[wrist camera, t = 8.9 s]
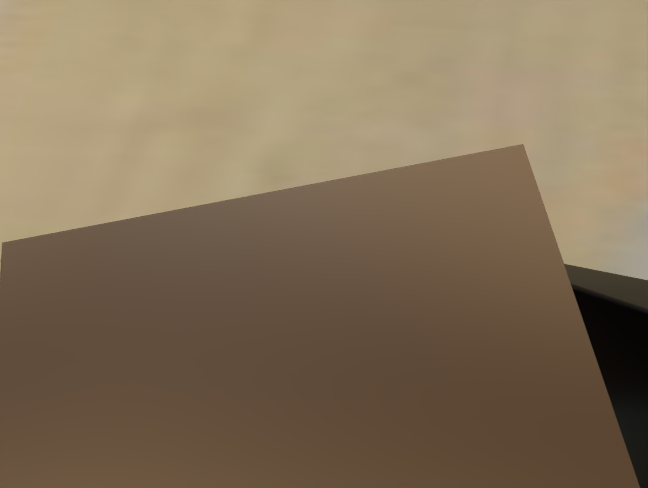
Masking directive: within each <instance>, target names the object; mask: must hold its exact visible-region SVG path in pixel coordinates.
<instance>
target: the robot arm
mask: <svg viewBox="0 0 648 488" xmlns="http://www.w3.org/2000/svg"><path fill="white" fill-rule="evenodd" d="M564 266H565V269H566V272H567V275H568V278H569V280H570V283H571V286H572V289H573V292H574V295H575V298H576V301H577V304H578V307H579V310H580V313H581V316H582V319H583V322H584V324H585V327H586V330H587V333H588V336H589V339H590V342H591V345H592V348H593V351H594V354H595V357H596V360H597V363H598V366H599V369H600V371H601V374H602V377H603V380H604V383H605V386H606V389H607V392H608V395H609V398H610V401H611V404H612V407H613V410H614V413H615V416H616V418H617V421H618V424H619V427H620V430H621V433H622V436H623V439H624V442H625V445H626V448H627V451H628V454H629V457H630V460H631V463H632V465H633V468H634V471H635V474H636V477H637V480H638V483H639V486H640V488H648V280H643V279H638V278H633V277H628V276H623V275H618V274H613V273H608V272H603V271H598V270H592V269H587V268H582V267H577V266H572V265H567V264H564Z"/></svg>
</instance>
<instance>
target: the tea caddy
mask: <svg viewBox="0 0 648 488" xmlns="http://www.w3.org/2000/svg"><path fill="white" fill-rule="evenodd" d="M0 488H640V486H639V483H638V480H637V477H636V474H635V471H634V468H633V465H632V463H631V460H630V457H629V454H628V451H627V448H626V445H625V442H624V439H623V436H622V433H621V430H620V427H619V424H618V421H617V418H616V416H615V413H614V410H613V407H612V404H611V401H610V398H609V395H608V392H607V389H606V386H605V383H604V380H603V377H602V374H601V371H600V369H599V366H598V363H597V360H596V357H595V354H594V351H593V348H592V345H591V342H590V339H589V336H588V333H587V330H586V327H585V324H584V322H583V319H582V316H581V313H580V310H579V307H578V304H577V301H576V298H575V295H574V292H573V289H572V286H571V283H570V280H569V278H568V275H567V272H566V269H565V266H564V263H563V260H562V257H561V254H560V251H559V248H558V245H557V242H556V239H555V236H554V233H553V231H552V228H551V225H550V222H549V219H548V216H547V213H546V210H545V207H544V204H543V201H542V198H541V195H540V192H539V189H538V186H537V184H536V181H535V178H534V175H533V172H532V169H531V166H530V163H529V160H528V157H527V154H526V151H525V148H524V145H523V144H521V145H516V146H511V147H506V148H500V149H495V150H490V151H484V152H479V153H474V154H469V155H463V156H458V157H453V158H447V159H442V160H437V161H432V162H426V163H421V164H416V165H410V166H405V167H400V168H395V169H389V170H384V171H379V172H373V173H368V174H363V175H358V176H352V177H347V178H342V179H337V180H331V181H326V182H321V183H315V184H310V185H305V186H300V187H294V188H289V189H284V190H278V191H273V192H268V193H263V194H257V195H252V196H247V197H241V198H236V199H231V200H226V201H220V202H215V203H210V204H204V205H199V206H194V207H189V208H183V209H178V210H173V211H167V212H162V213H157V214H152V215H146V216H141V217H136V218H131V219H125V220H120V221H115V222H109V223H104V224H99V225H94V226H88V227H83V228H78V229H72V230H67V231H62V232H57V233H51V234H46V235H41V236H35V237H30V238H25V239H20V240H14V241H9V242H4V243H2V256H1V272H0Z"/></svg>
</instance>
